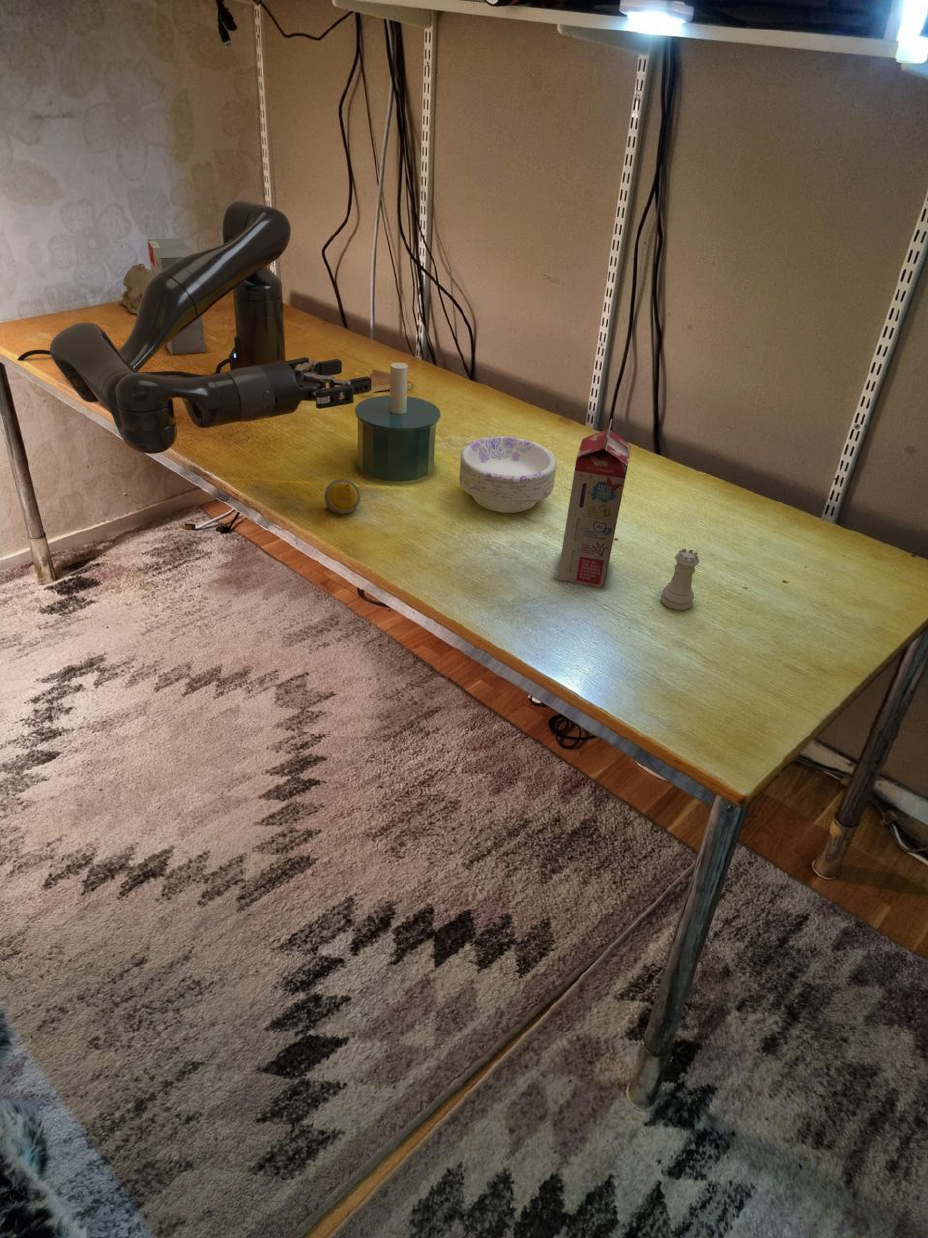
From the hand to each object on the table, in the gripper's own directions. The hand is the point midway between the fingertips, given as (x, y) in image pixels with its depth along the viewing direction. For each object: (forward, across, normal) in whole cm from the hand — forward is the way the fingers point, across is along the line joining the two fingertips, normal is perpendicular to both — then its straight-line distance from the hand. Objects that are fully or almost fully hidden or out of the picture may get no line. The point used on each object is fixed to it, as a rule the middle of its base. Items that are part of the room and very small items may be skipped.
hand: (355, 374), depth 134 cm
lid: (+8, 0, -8) cm, 11 cm away
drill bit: (-8, +10, -18) cm, 22 cm away
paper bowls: (+17, +19, -18) cm, 31 cm away
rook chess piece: (+18, +54, -18) cm, 60 cm away
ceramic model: (+5, -102, -18) cm, 104 cm away
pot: (+8, 0, -18) cm, 19 cm away
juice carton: (+12, +42, -18) cm, 47 cm away
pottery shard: (+27, -31, -18) cm, 45 cm away
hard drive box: (+2, -75, -18) cm, 77 cm away
